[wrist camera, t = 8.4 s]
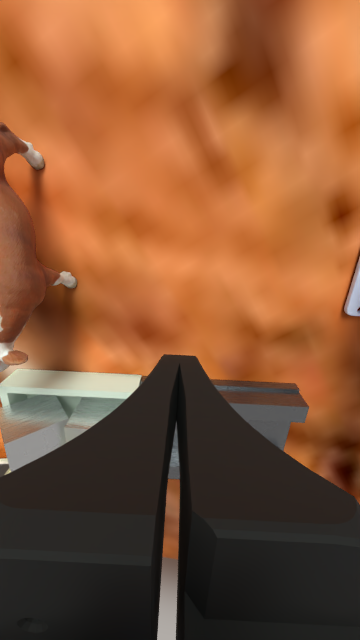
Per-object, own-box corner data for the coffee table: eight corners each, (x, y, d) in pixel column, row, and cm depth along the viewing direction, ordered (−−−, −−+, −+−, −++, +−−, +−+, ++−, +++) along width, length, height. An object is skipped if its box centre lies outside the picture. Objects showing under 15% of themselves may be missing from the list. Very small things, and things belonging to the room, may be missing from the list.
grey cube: (131, 395, 21) (120, 432, 18) (130, 431, 23) (120, 471, 19) (85, 391, 21) (64, 427, 18) (87, 427, 23) (68, 467, 19)
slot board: (295, 383, 21) (309, 404, 19) (275, 460, 24) (285, 486, 22) (142, 376, 21) (137, 395, 19) (143, 453, 24) (139, 479, 22)
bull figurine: (34, 331, 20) (-59, 398, 12) (-20, 128, 15) (-233, 30, 7) (88, 330, 20) (28, 397, 12) (51, 125, 15) (-91, 20, 7)
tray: (141, 375, 21) (136, 393, 19) (142, 454, 24) (138, 477, 22) (17, 368, 21) (-3, 386, 19) (35, 448, 24) (20, 471, 22)
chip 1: (52, 390, 21) (68, 418, 19) (57, 426, 23) (72, 457, 20) (-5, 408, 19) (4, 444, 16) (5, 448, 20) (14, 486, 17)
